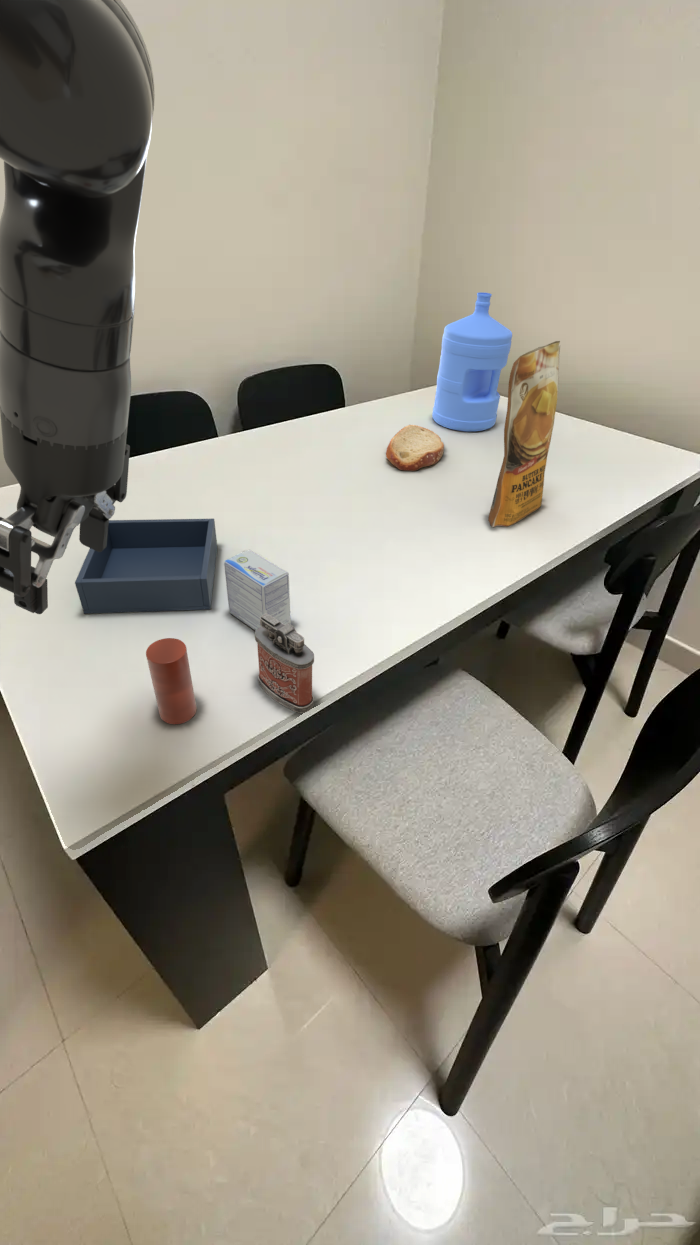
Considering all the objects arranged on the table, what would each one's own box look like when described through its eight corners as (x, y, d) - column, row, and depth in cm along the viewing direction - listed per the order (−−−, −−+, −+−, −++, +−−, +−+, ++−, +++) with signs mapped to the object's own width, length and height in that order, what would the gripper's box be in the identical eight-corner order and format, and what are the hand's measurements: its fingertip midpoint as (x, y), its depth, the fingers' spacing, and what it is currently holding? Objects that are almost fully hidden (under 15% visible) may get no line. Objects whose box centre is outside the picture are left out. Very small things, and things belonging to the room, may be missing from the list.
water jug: (419, 420, 143) (434, 291, 126) (453, 406, 153) (472, 285, 135) (474, 438, 136) (498, 303, 118) (506, 422, 145) (533, 295, 128)
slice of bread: (419, 431, 137) (421, 415, 135) (469, 459, 125) (472, 442, 123) (355, 443, 129) (356, 427, 127) (402, 474, 118) (404, 456, 115)
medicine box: (291, 625, 78) (290, 571, 72) (266, 640, 75) (263, 585, 70) (253, 600, 82) (250, 547, 76) (228, 613, 79) (222, 559, 74)
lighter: (320, 702, 67) (321, 635, 61) (299, 718, 65) (298, 650, 59) (272, 668, 71) (269, 603, 65) (251, 682, 69) (246, 616, 63)
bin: (83, 613, 78) (74, 582, 74) (109, 549, 90) (101, 520, 87) (210, 609, 80) (206, 578, 76) (217, 546, 93) (214, 518, 89)
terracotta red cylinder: (157, 725, 63) (142, 664, 57) (162, 699, 66) (148, 638, 61) (195, 723, 64) (184, 662, 58) (198, 697, 67) (188, 637, 61)
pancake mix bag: (466, 521, 103) (498, 352, 86) (521, 490, 114) (559, 335, 97) (499, 535, 100) (539, 362, 82) (552, 502, 111) (597, 343, 93)
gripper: (76, 344, 42) (72, 511, 54) (-74, 425, 32) (-40, 610, 44) (171, 391, 43) (147, 546, 54) (53, 485, 33) (54, 652, 44)
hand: (64, 575), depth 49 cm, fingers open, 8 cm apart
